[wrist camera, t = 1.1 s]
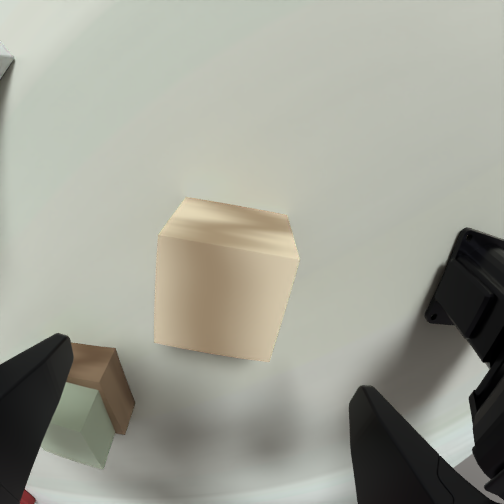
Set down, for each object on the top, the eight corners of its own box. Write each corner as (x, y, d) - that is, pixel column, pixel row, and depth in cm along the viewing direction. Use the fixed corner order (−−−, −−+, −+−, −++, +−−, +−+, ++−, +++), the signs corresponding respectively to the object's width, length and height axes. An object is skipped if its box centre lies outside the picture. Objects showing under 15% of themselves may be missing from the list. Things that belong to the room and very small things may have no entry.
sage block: (98, 389, 17) (80, 432, 14) (115, 432, 19) (103, 469, 16) (37, 373, 17) (15, 409, 14) (59, 416, 19) (43, 450, 16)
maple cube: (286, 214, 16) (299, 259, 11) (266, 299, 18) (269, 362, 13) (186, 196, 15) (158, 234, 11) (177, 283, 17) (154, 342, 13)
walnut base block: (116, 346, 20) (99, 382, 17) (136, 400, 22) (124, 435, 19) (49, 337, 20) (28, 367, 17) (73, 390, 22) (59, 419, 19)
